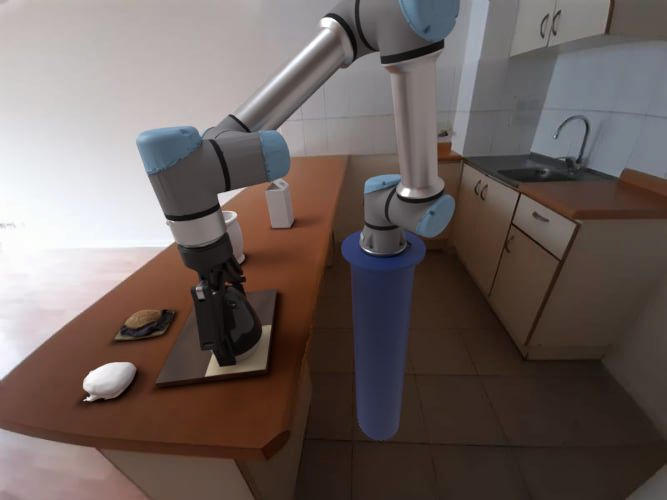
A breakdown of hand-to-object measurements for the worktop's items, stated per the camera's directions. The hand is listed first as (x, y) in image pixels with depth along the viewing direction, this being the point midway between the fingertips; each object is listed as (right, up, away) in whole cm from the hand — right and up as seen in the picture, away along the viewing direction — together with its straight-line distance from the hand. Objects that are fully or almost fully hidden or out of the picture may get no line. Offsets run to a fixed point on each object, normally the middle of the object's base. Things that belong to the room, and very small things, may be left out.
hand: (236, 334), depth 53 cm
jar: (-14, +13, +35) cm, 39 cm away
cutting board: (-5, -2, +8) cm, 10 cm away
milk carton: (-1, +26, +56) cm, 62 cm away
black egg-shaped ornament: (0, -4, +2) cm, 4 cm away
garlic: (-23, -9, -1) cm, 24 cm away
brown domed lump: (-25, -2, +12) cm, 28 cm away
